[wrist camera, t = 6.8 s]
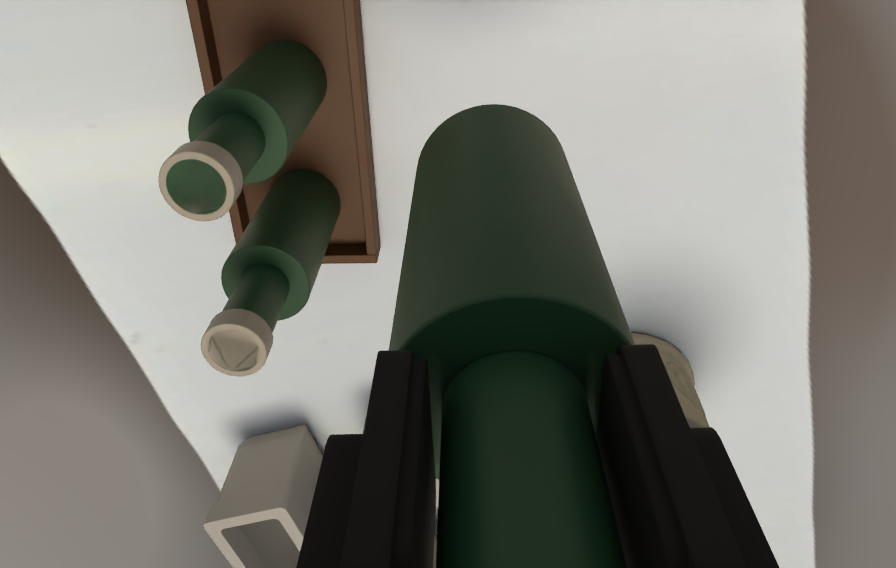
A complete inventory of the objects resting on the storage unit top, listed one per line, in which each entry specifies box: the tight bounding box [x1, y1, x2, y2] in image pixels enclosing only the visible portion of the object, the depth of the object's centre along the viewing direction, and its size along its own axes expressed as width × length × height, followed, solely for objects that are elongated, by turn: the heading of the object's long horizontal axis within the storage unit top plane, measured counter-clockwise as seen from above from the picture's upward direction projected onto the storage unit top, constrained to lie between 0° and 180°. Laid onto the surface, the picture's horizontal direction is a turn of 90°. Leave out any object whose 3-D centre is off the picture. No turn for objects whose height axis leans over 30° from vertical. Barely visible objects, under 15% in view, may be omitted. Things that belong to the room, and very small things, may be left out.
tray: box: [186, 0, 380, 264], centre depth 38 cm, size 22×9×2 cm, turn 1°
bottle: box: [389, 104, 635, 568], centre depth 13 cm, size 4×4×16 cm
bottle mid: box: [159, 40, 327, 221], centre depth 32 cm, size 4×4×16 cm
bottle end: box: [201, 169, 341, 376], centre depth 36 cm, size 4×4×16 cm
